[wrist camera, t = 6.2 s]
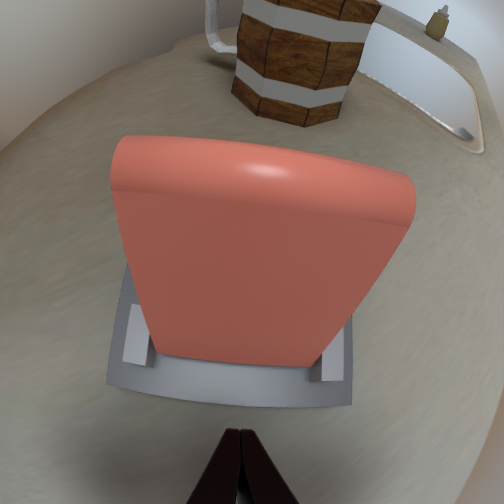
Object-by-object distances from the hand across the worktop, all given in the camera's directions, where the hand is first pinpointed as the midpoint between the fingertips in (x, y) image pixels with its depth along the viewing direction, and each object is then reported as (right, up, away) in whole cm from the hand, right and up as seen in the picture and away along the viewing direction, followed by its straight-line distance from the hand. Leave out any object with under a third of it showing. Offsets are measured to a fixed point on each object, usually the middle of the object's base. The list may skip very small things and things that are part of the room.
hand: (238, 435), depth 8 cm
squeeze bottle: (+72, +90, +64) cm, 132 cm away
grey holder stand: (-1, +1, +10) cm, 11 cm away
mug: (+2, +26, +24) cm, 35 cm away
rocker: (-1, 0, +8) cm, 8 cm away
